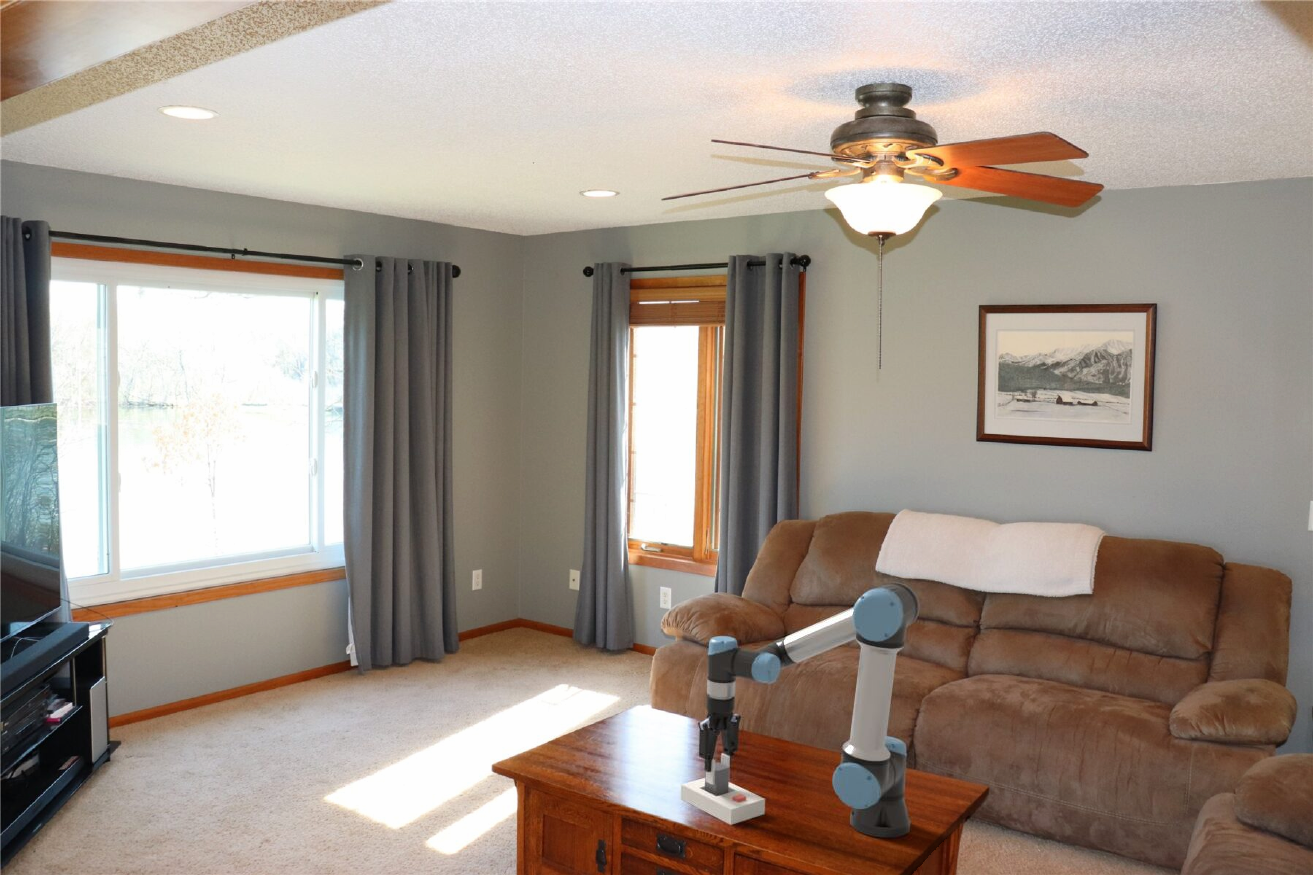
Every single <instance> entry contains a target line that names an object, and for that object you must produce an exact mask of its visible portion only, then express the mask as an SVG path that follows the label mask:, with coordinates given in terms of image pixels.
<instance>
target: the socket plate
mask: <svg viewBox="0 0 1313 875" xmlns="http://www.w3.org/2000/svg"><path fill="white" fill-rule="evenodd" d="M680 799H681V800H682V801H684V802H686V803H687V804H690V805H692V806H694V807H695V808H697V809H699V810H701V811H703V812H705V813H708V814H709V815H711V816H713V817H715V818H717V819H719V820H720V821H723V822H724V823H726V824H728V825H731V826H732V825H734V824H737V823H741V822H744V821H747V820H750V819H752V818H753V819H754V818H756V817H759V816H762V815H765V812H766V811H765V810H766V806H765V805H766V798H763V797H762V796H760V795H757V794H756V793H753V792H751V791H749V790H747V789H746V788H742V787H740V786H738V785H736V784H734V783H732V782H730V781H729V788H728V793H726V794H723V795H720V796H715V795H713V794H711V793H709V792H707V791H705V777H703V778H700V779H696V780H695V779H694V780H693V781H689V782H685V783H681V786H680Z"/></svg>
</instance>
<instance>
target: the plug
mask: <svg viewBox="0 0 1313 875" xmlns="http://www.w3.org/2000/svg"><path fill="white" fill-rule="evenodd" d="M704 771H705V770H704ZM704 778H705V791H707V792H709V793H711V794H713V795H715V796H720V795H723V794H726V793H728V788H729V782H730V768H729V767H727V766H725V765H723V764H721V762H719V761H718V762H715V782H714V784H713V785H712V784H710V783H708V782H706V771H705V772H704Z"/></svg>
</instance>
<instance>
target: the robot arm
mask: <svg viewBox="0 0 1313 875" xmlns="http://www.w3.org/2000/svg"><path fill="white" fill-rule="evenodd" d="M920 607H921V606H920V600H919V597H918V595H917V594H916V592H915V591H914V590H913V588H912V587H910V586H908V585H907V584H905V583H902V582H895V581H894V582H888V583H886V584H883V585H881V586H878V587H877V588H872V589H869V590H868V591H866V592H865V593H863V594H862V595H861V596H860V597H858V599H857V601H856V602H855V604H854V606H853V607H850V608H849V609H846V610H845V611H844V610H843V611H842V612H840V613H836V614H835V615H832V616H830V617H828V618H826V619H823V620H821V621H818V622H817V623H814V624H812V625H810V626H808V627H805V628H803V629H800V630H798V631H796V632H794V633H791V634H789V635H787V636H785V637H782V638H780V639H777V640H774V641H771V643H769V644H767V645H764V646H761V647H759V648H757V649H754V650H752V649H746V648H741V647H738V640H737V639H736V638H735V637H732V636H728V635H720V636H719V635H718V636H714V637H711V639H710V640H709V641H708V642H709V644H708V652H707V656H708V659H707V682H706V685H707V686H706V694H707V695H706V703H705V704H706V705H705V707H706V710H707V714H706V716H705V717H706V718H705V719H704V720H703V721H702V720H699V721H698V723H697V726H698V729H699V732H698V733H699V737H698V738H699V739H698V757H699V758H701V759H703V760H704V771H706V782H708V783H710V784H712V785H713V784H714V782H715V763H716V759H714V756H715V751H716V747H717V741H718V738H719V735H720V736H721V744H722V749H723V752H722V753H721V754H720V763H721V764H723V765H725V766H727V767H729V769H730V767H731V766H732V757H734V756H735V755H736V753H737V751H738V750H739V732H740V730H739V729H740V728H739V727H740V722H741V719H742V716H741V715H740V714H737V713H734V712H733V711H734V710H735V702H736V700H735V698H736V697H735V694H736V680H737V678H740V679H744V680H749V681H753V682H757V683H761V684H763V683H764V684H765V683H766V684H773V683H775V682H776V681H777V678H779V676H780V673H781V670H784V669H787V668H789V667H792V666H793V665H795V664H796V665H797V664H798V663H800V662H803V661H805V660H808V659H809V658H812V657H815V656H817V655H819V654H823V653H824V652H826V651H830V650H832V649H834V648H836V647H838V646H841V645H843V644H846V643H848V642H851V641H853V640H855V641H856V642H857V644H859V646H860V651H859V652H860V654H859V660H858V661H859V662H858V668H857V669H858V670H857V678H856V686H855V687H856V688H855V695H854V703H853V710H852V711H853V712H852V719H851V726H850V727H851V728H850V733H849V734H850V735H849V736H850V737H849V739H848V741H845V743H843V745H842V748H841V757H840V758H841V759H840V764H839V765H838V766H837V767H836V768H835V770H834V772H833V775H832V788H833V790H834V792H835V794H836V796H838V798H839V800H840V801H841V802H843V804H844V805H846V806H848V807H851V808H852V809H851V811H850V817H849V819H850V820H849V822H850V825H851V827H852V828H853V829H854V830H856V831H857V832H859V833H862V834H864V835H867V836H871V837H876V838H882V839H883V838H885V839H891V838H894V839H895V838H900V837H903V836H905V834H906V835H907V834H909V832H910V830H911V819H910V816H909V814H908V809H907V805H906V804H907V803H906V801H905V787H906V786H905V784H906V770H907V769H906V768H907V767H906V765H907V756H908V754H907V745H906V743H905V742H904V741H903V740H901V739H900V738H896V737H893V736H889V735H888V734H887V733H888V732H887V731H888V725H889V719H890V718H889V717H890V709H891V702H892V693H893V686H894V676H895V669H896V663H897V662H896V661H897V654H898V652H900V651H901V650H902V649H904V647H905V642H906V641H905V640H906V636H907V635H906V634H907V628H908V627H909V626H911V625H913V623H914V622H915V621H916V620H917V618H918V616H919V612H920Z"/></svg>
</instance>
